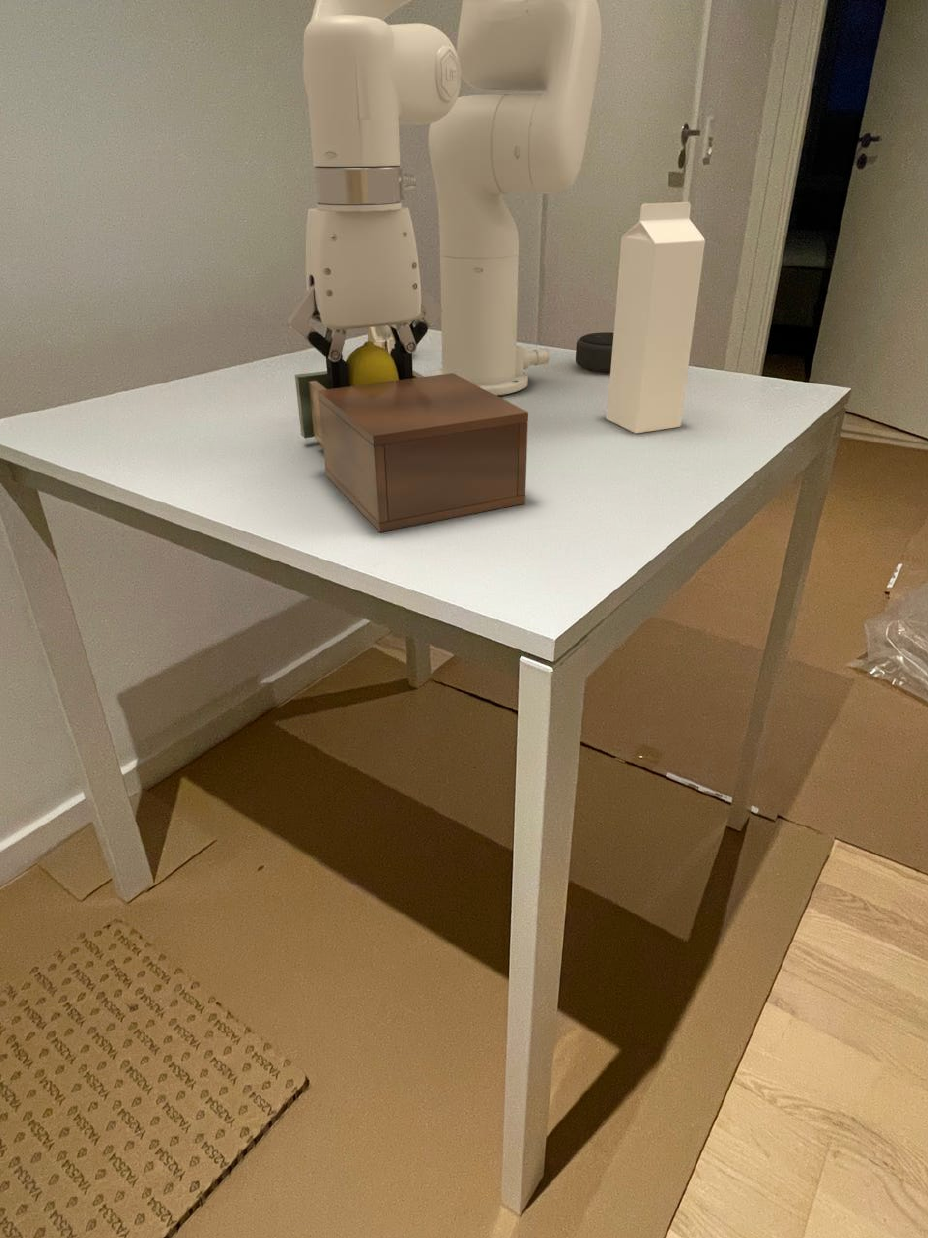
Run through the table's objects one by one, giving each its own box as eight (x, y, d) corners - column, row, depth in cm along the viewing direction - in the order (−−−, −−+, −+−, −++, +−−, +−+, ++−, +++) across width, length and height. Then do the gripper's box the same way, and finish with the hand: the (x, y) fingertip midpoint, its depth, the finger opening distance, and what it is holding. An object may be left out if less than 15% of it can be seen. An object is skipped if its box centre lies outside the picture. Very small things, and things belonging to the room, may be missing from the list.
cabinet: (325, 475, 77) (317, 390, 73) (454, 453, 82) (453, 372, 78) (379, 532, 66) (373, 435, 62) (525, 503, 71) (528, 412, 67)
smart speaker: (618, 379, 107) (620, 347, 105) (562, 368, 112) (564, 338, 110) (651, 366, 113) (654, 336, 111) (597, 357, 118) (599, 328, 116)
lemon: (392, 432, 79) (388, 348, 75) (338, 429, 80) (331, 346, 76) (407, 416, 84) (404, 336, 80) (356, 413, 85) (350, 334, 81)
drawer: (283, 417, 91) (276, 359, 87) (387, 403, 95) (384, 347, 92) (342, 476, 75) (336, 408, 71) (463, 456, 79) (463, 391, 76)
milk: (680, 427, 90) (712, 203, 78) (634, 434, 87) (660, 205, 76) (648, 412, 94) (674, 199, 83) (604, 418, 92) (624, 201, 81)
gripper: (430, 186, 78) (435, 377, 87) (252, 191, 71) (277, 397, 80) (465, 189, 72) (465, 394, 81) (273, 195, 65) (298, 417, 75)
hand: (371, 394), depth 81 cm, fingers closed on lemon, 5 cm apart
